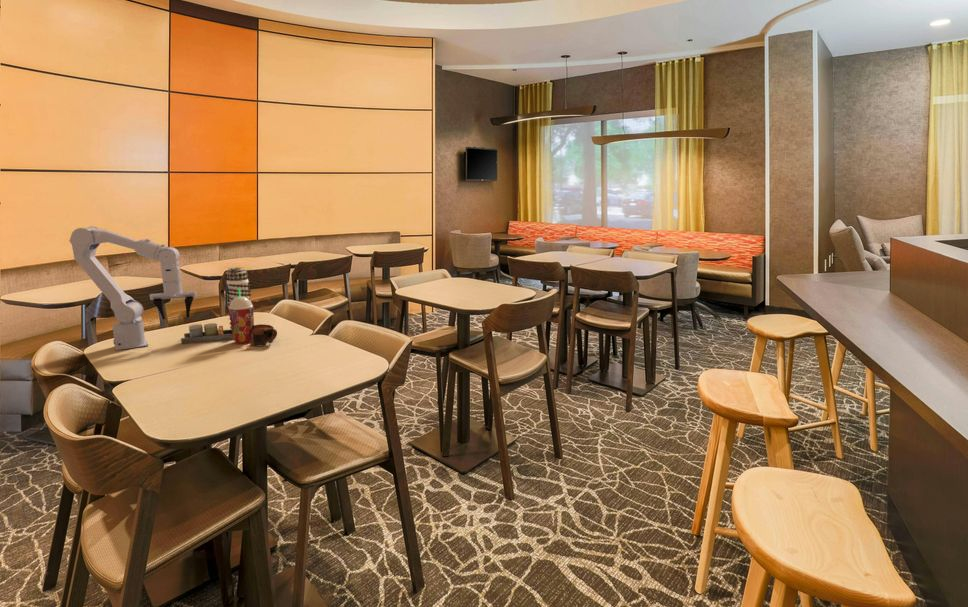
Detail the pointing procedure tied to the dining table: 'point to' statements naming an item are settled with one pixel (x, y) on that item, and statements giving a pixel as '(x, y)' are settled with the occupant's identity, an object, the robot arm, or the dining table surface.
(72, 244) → the robot arm
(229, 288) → the black white checkered cylinder
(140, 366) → the dining table surface
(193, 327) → the jar
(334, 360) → the dining table surface
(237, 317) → the smoothie
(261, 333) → the pottery mug
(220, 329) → the block
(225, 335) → the lane
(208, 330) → the jar
